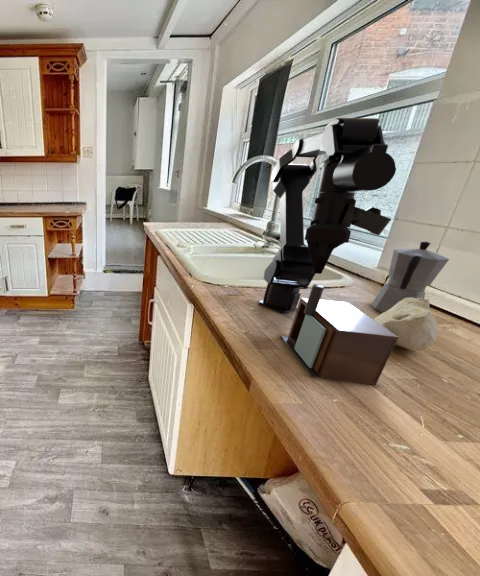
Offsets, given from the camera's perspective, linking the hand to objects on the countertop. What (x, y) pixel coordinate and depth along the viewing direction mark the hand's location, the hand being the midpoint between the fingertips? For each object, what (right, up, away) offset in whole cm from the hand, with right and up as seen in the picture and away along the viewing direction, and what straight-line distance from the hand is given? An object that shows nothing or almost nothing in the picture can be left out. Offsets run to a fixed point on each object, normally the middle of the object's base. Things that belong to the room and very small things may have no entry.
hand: (318, 273), depth 62 cm
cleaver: (-8, -15, -7) cm, 19 cm away
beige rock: (+17, -14, +3) cm, 22 cm away
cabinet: (-3, -16, -6) cm, 17 cm away
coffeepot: (+30, -9, +15) cm, 35 cm away
